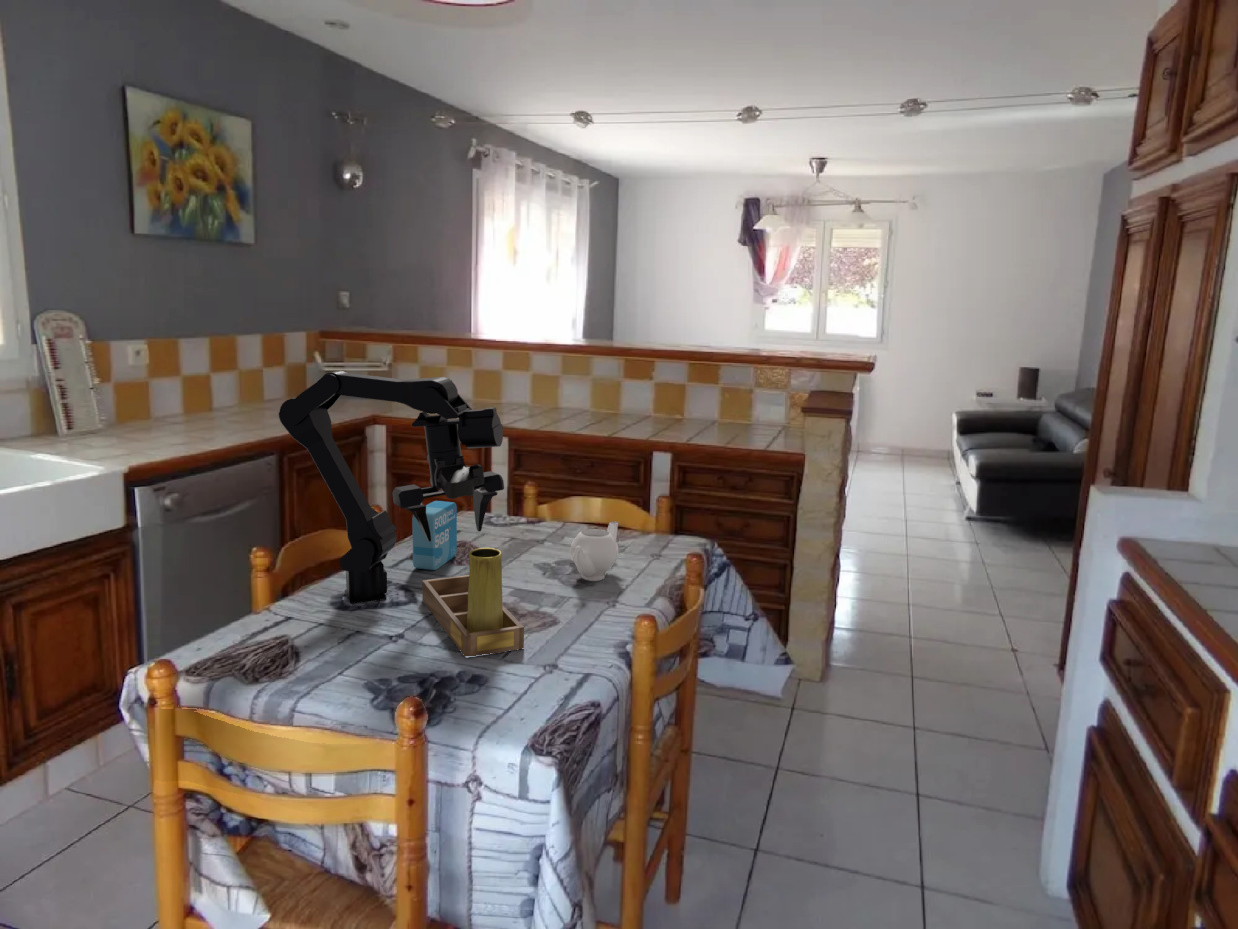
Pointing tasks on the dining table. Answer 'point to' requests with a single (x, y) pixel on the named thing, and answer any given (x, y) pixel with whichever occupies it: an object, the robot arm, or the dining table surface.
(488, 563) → the vase
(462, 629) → the rack
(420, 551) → the data package
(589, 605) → the dining table surface
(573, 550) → the teapot
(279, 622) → the dining table surface
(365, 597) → the robot arm
